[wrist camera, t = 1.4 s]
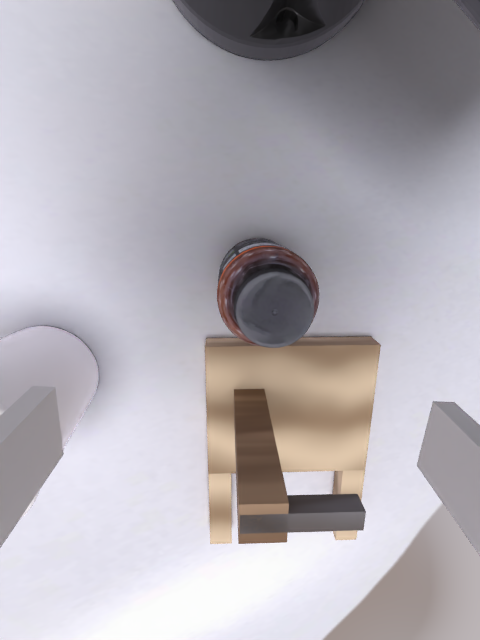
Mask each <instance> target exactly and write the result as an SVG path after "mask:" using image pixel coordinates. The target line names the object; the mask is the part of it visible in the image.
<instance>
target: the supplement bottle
mask: <svg viewBox="0 0 480 640" xmlns="http://www.w3.org/2000/svg"><path fill="white" fill-rule="evenodd" d="M217 302H218V307H219V311H220V314H221V317H222V319H223V321H224V323H225V324H226V326H227V327H228V328H229V330H230V331H231V332H232V333H233V334H234V335H236V336H237V337H238V338H239V339H241V340H243V341H245V342H247V343H249V344H252V345H256V346H263V347H268V348H279V347H284V346H287V345H290V344H292V343H294V342H296V341H297V340H298V339H300V338H301V337H302V336H303V335H304V334H305V333H306V332H307V330H308V328H309V327H310V325H311V323H312V321H313V319H314V317H315V315H316V312H317V308H318V303H319V287H318V282H317V280H316V277H315V275H314V273H313V272H312V270H311V268H310V267H309V266H308V264H307V263H306V262H305V261H304V260H303V259H302V258H301V257H299V256H298V255H297V254H295V253H293V252H292V251H290V250H288V249H286V248H284V247H282V246H280V245H279V244H277V243H275V242H273V241H270V240H267V239H256V238H255V239H249V240H246V241H243V242H241V243H238V244H237V245H236V246H234V247H233V248H232V249H231V250H230V251H229V252H228V253H227V255H226V256H225V258H224V259H223V262H222V264H221V266H220V271H219V279H218V288H217Z"/></svg>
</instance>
